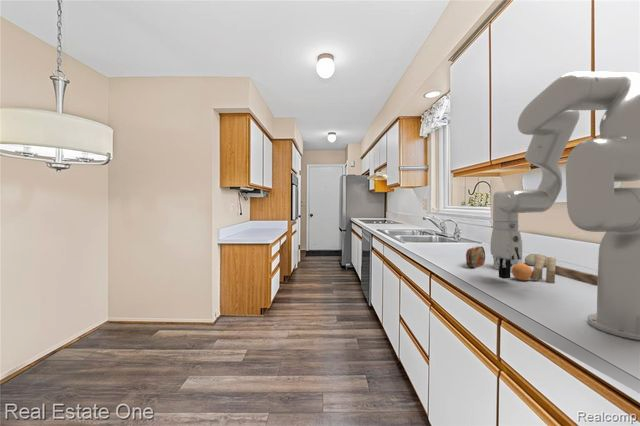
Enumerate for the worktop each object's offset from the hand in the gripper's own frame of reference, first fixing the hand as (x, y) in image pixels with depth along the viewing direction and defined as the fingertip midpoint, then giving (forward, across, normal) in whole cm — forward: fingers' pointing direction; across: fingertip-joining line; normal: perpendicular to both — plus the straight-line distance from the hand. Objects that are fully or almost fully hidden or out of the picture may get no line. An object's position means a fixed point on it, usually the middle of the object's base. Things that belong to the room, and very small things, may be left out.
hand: (504, 277), depth 103 cm
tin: (+2, +25, -6) cm, 25 cm away
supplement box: (+2, +16, -14) cm, 21 cm away
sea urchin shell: (+2, +22, -33) cm, 40 cm away
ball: (-2, +2, -8) cm, 8 cm away
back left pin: (+2, +2, -15) cm, 16 cm away
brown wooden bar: (+2, 0, -28) cm, 28 cm away
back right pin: (+2, -2, -15) cm, 16 cm away
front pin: (+1, 0, -11) cm, 11 cm away
